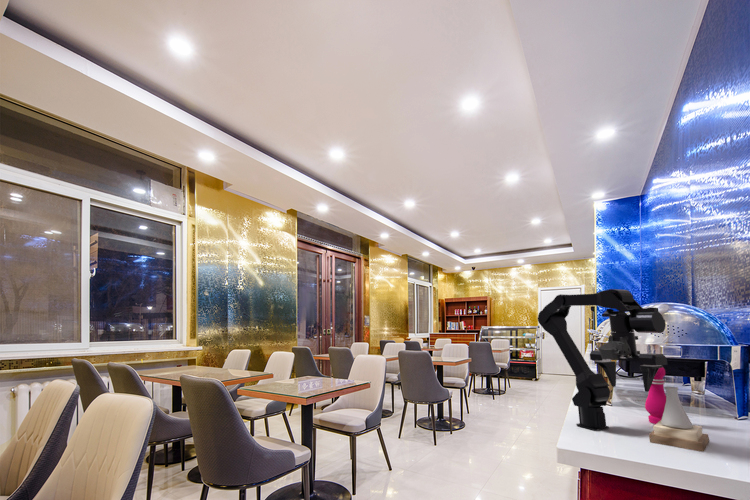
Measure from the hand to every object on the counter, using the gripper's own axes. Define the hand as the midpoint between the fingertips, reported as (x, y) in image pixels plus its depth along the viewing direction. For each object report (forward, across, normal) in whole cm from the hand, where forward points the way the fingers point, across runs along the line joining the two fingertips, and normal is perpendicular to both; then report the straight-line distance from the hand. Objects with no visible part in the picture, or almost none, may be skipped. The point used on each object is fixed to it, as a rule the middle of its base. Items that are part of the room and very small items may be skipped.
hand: (629, 389), depth 107 cm
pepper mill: (+13, -7, +24) cm, 28 cm away
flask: (+9, +7, +7) cm, 14 cm away
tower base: (+13, +7, +7) cm, 16 cm away
